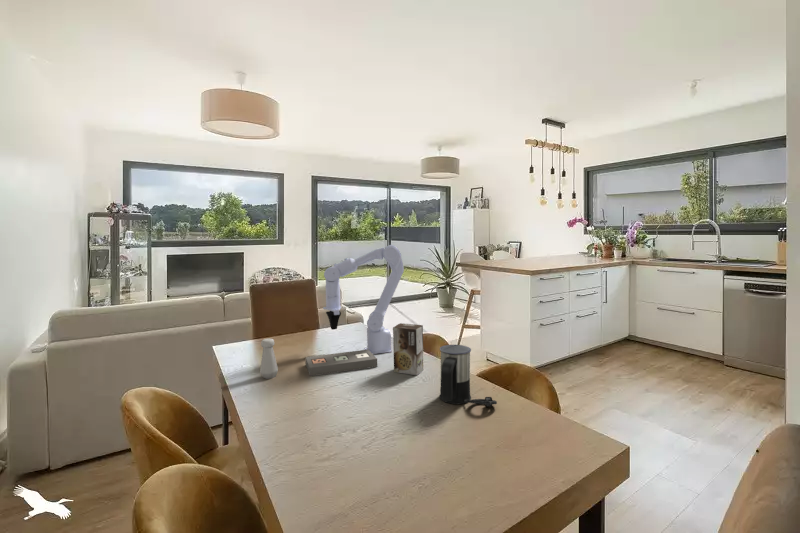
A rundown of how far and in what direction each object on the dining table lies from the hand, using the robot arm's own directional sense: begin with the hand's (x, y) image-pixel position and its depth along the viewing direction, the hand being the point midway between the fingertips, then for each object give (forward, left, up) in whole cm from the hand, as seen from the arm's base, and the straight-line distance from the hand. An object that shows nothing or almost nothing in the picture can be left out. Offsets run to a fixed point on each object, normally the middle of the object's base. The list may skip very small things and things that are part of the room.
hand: (333, 329), depth 158 cm
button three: (+9, +18, -9) cm, 22 cm away
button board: (+1, +18, -9) cm, 20 cm away
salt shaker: (+26, +19, -10) cm, 34 cm away
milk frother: (-26, +61, -10) cm, 67 cm away
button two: (+1, +18, -9) cm, 20 cm away
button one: (-7, +18, -9) cm, 21 cm away
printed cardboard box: (-20, +32, -10) cm, 39 cm away
